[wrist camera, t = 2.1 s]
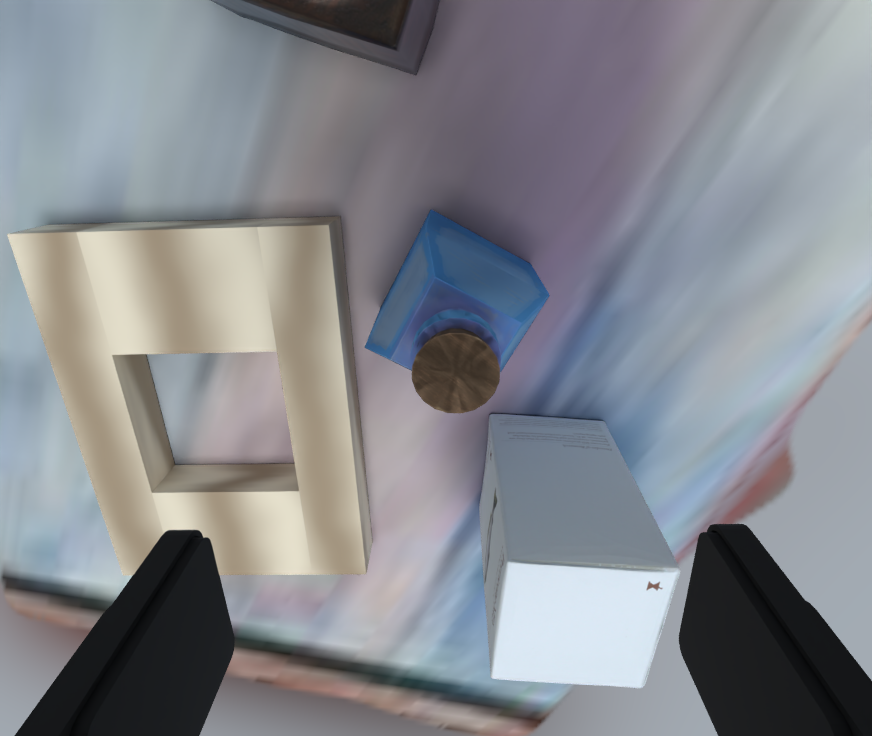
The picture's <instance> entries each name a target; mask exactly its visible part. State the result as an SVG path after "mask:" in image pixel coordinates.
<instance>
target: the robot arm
mask: <svg viewBox="0 0 872 736" xmlns="http://www.w3.org/2000/svg"><path fill="white" fill-rule="evenodd" d="M679 644H680V650H681V653H682V656H683V659H684V661H685V663H686V665H687V667H688V670H689V672H690V674H691V676H692V679H693V681H694V683H695V685H696V687H697V689H698V692H699V694H700V696H701V699H702V701H703V703H704V705H705V707H706V709H707V712H708V714H709V716H710V718H711V721H712V723H713V725H714V727H715V730H716V732H717V734H718V736H872V681H871V679H870V678H869V677H868V676H867V674H866V673H865V672H864V671H863V669H862V668H861V667H860V665H859V664H858V663H857V662H856V660H855V659H854V658H853V656H852V655H851V654H850V653H849V651H848V650H847V649H846V647H845V646H844V645H843V644H842V642H841V641H840V640H839V638H838V637H837V636H836V635H835V633H834V632H833V631H832V629H831V628H830V627H829V626H828V624H827V623H826V622H825V620H824V619H823V618H822V617H821V615H820V614H819V613H818V612H817V610H816V609H815V608H814V607H813V606H812V605H811V604H810V603H809V602H807V601H805V600H804V599H803V597H802V596H801V595H800V593H799V592H798V591H797V589H796V588H795V587H794V586H793V584H792V583H791V582H790V580H789V579H788V578H787V576H786V575H785V574H784V573H783V571H782V570H781V569H780V568H779V566H778V565H777V563H776V562H775V561H774V560H773V558H772V557H771V556H770V554H769V553H768V552H767V551H766V549H765V548H764V547H763V545H762V544H761V543H760V541H759V540H758V539H757V538H756V536H755V535H754V534H753V532H752V531H751V530H750V529H749V528H748V527H747V526H746V525H744V524H713V525H710V527H709V528H708V530H707V532H703V533H701V534H700V535H699V538H698V543H697V548H696V553H695V558H694V563H693V568H692V573H691V578H690V583H689V588H688V593H687V598H686V603H685V608H684V613H683V618H682V623H681V628H680V633H679ZM233 651H234V634H233V630H232V625H231V621H230V617H229V613H228V609H227V605H226V601H225V597H224V592H223V588H222V584H221V580H220V576H219V572H218V568H217V564H216V559H215V555H214V551H213V547H212V543H211V540H210V539H209V538H207V537H203V535H202V533H201V532H200V531H199V530H168V531H166V532H165V533H164V534H163V535H162V536H161V537H160V539H159V540H158V542H157V543H156V544H155V546H154V547H153V549H152V550H151V551H150V553H149V554H148V555H147V557H146V558H145V560H144V561H143V562H142V564H141V565H140V567H139V568H138V569H137V571H136V572H135V574H134V575H133V576H132V578H131V579H130V580H129V582H128V583H127V585H126V586H125V587H124V589H123V590H122V592H121V593H120V594H119V596H118V597H117V599H116V600H115V601H114V603H113V604H112V605H111V606H110V607H109V608H108V609H107V610H106V611H105V612H104V613H103V615H102V616H101V617H100V619H99V620H98V621H97V623H96V624H95V626H94V627H93V628H92V630H91V631H90V633H89V634H88V635H87V637H86V638H85V640H84V641H83V642H82V644H81V645H80V646H79V648H78V649H77V651H76V652H75V653H74V655H73V656H72V657H71V659H70V660H69V662H68V663H67V665H66V666H65V667H64V669H63V670H62V671H61V673H60V674H59V675H58V677H57V678H56V679H55V681H54V682H53V684H52V685H51V686H50V688H49V689H48V690H47V692H46V693H45V695H44V696H43V697H42V699H41V700H40V702H39V703H38V704H37V706H36V707H35V708H34V710H33V711H32V712H31V714H30V715H29V717H28V718H27V719H26V721H25V722H24V724H23V725H22V726H21V728H20V729H19V730H18V732H17V733H16V735H15V736H199V735H200V732H201V730H202V728H203V725H204V723H205V720H206V718H207V716H208V713H209V711H210V708H211V706H212V704H213V701H214V699H215V696H216V694H217V692H218V689H219V687H220V684H221V682H222V680H223V677H224V675H225V672H226V670H227V668H228V665H229V663H230V661H231V658H232V655H233Z"/></svg>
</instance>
